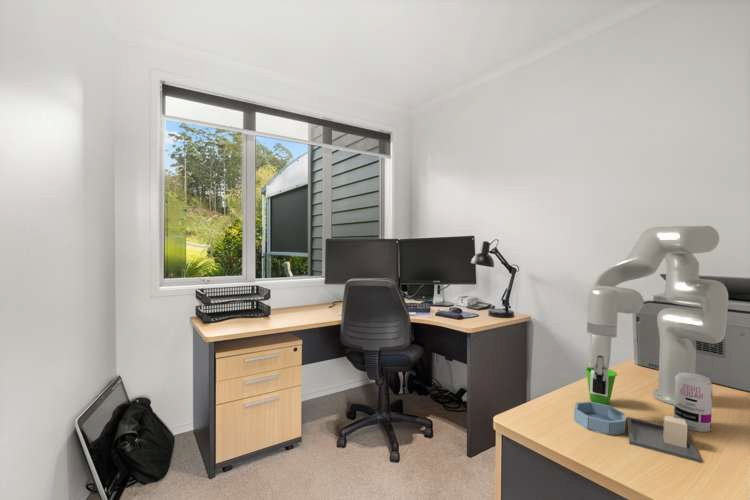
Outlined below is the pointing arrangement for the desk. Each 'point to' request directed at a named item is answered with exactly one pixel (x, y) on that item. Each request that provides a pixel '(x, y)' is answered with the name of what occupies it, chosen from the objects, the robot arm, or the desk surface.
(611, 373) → the cup
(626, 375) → the desk surface
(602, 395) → the white block
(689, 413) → the supplement can
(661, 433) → the tray
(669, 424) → the beige rectangular block
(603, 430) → the bowl
